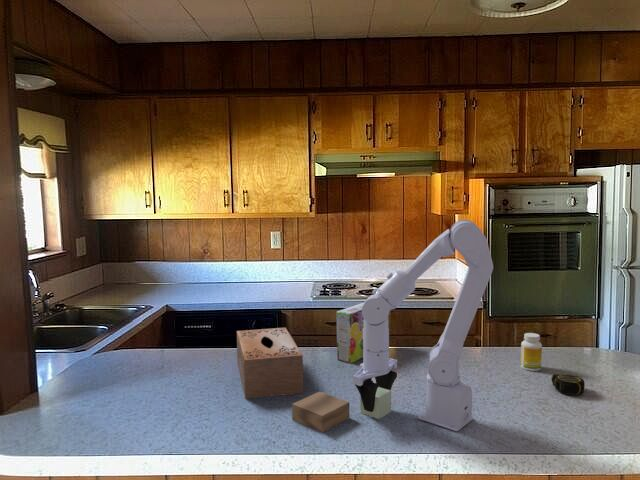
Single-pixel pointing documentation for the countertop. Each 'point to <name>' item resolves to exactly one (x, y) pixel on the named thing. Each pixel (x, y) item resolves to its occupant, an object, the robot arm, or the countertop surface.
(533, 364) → the supplement bottle
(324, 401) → the walnut block
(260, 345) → the tissue box cover
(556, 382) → the tape measure
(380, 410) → the sage cube
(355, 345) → the snack box
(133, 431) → the countertop surface
